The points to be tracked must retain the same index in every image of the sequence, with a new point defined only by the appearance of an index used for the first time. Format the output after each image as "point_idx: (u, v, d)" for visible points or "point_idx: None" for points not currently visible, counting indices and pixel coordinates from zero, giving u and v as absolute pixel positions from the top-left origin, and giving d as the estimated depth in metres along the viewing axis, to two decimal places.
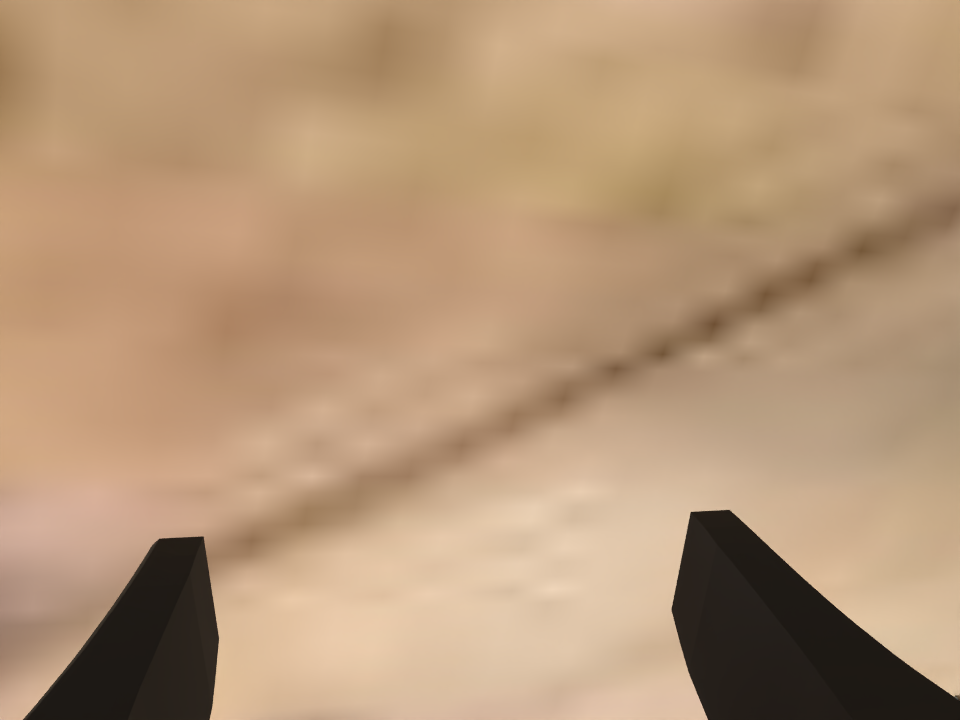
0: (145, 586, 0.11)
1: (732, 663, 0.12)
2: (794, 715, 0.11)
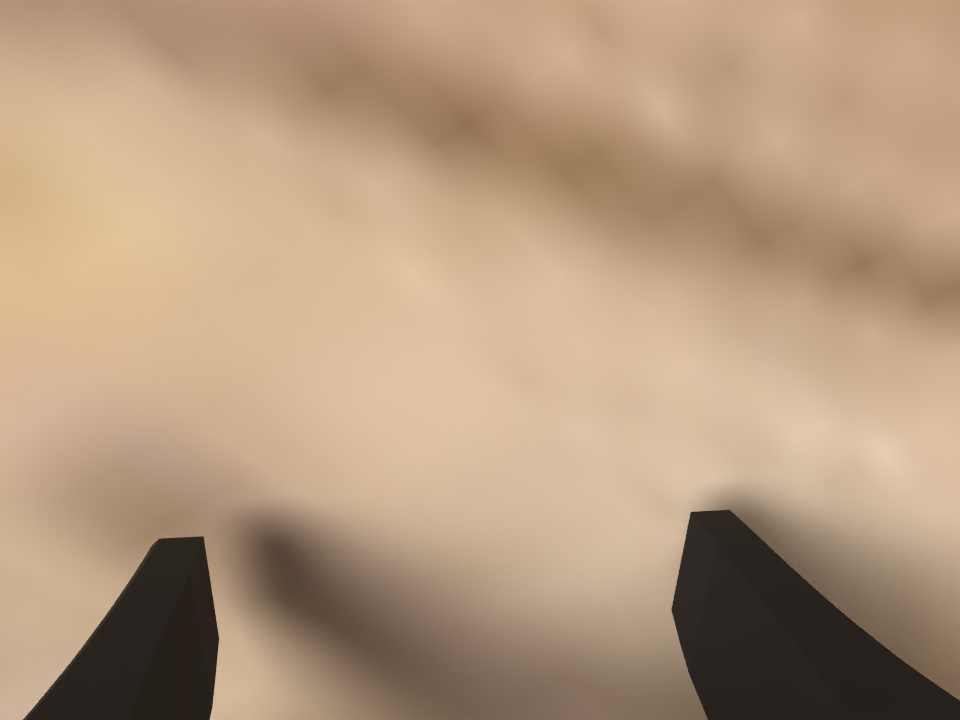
0: (145, 586, 0.11)
1: (732, 663, 0.12)
2: (794, 715, 0.11)
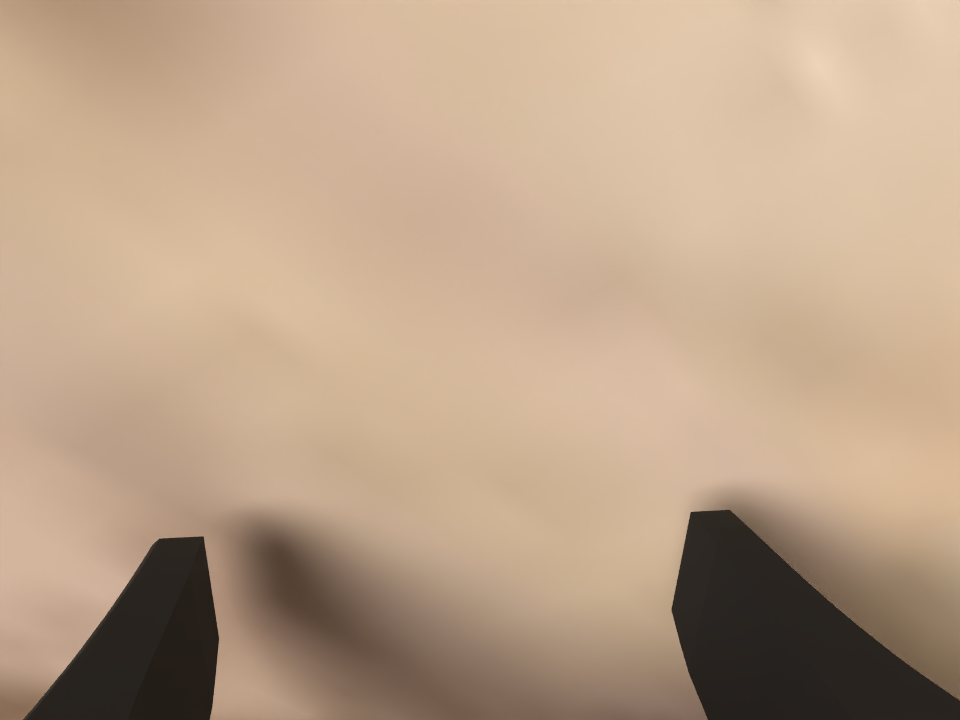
0: (145, 586, 0.11)
1: (732, 664, 0.12)
2: (794, 715, 0.11)
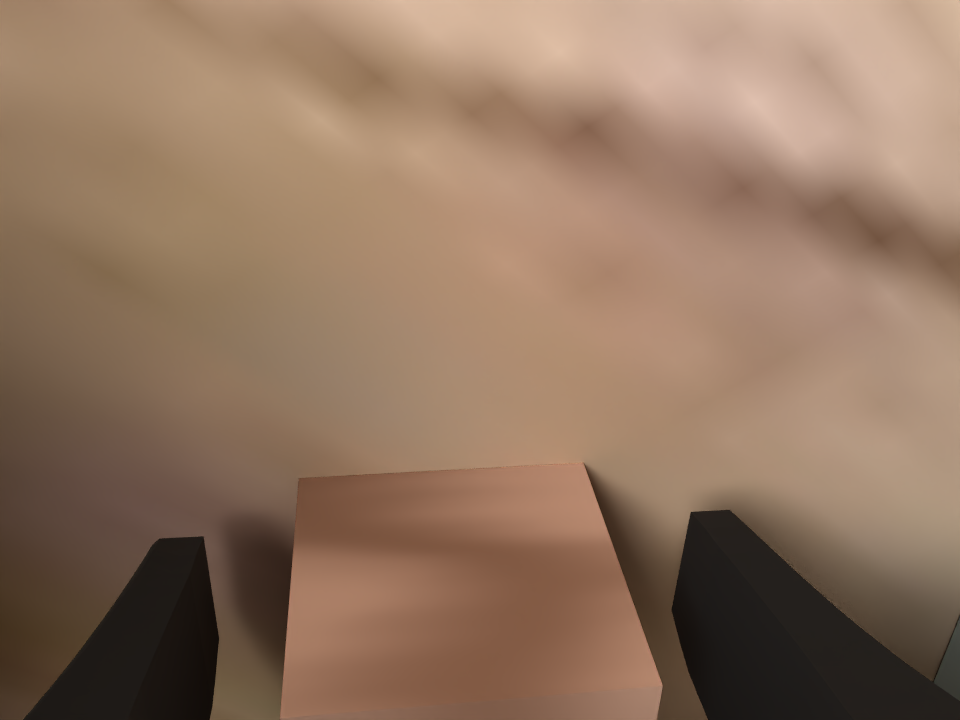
0: (145, 586, 0.11)
1: (732, 663, 0.12)
2: (794, 715, 0.11)
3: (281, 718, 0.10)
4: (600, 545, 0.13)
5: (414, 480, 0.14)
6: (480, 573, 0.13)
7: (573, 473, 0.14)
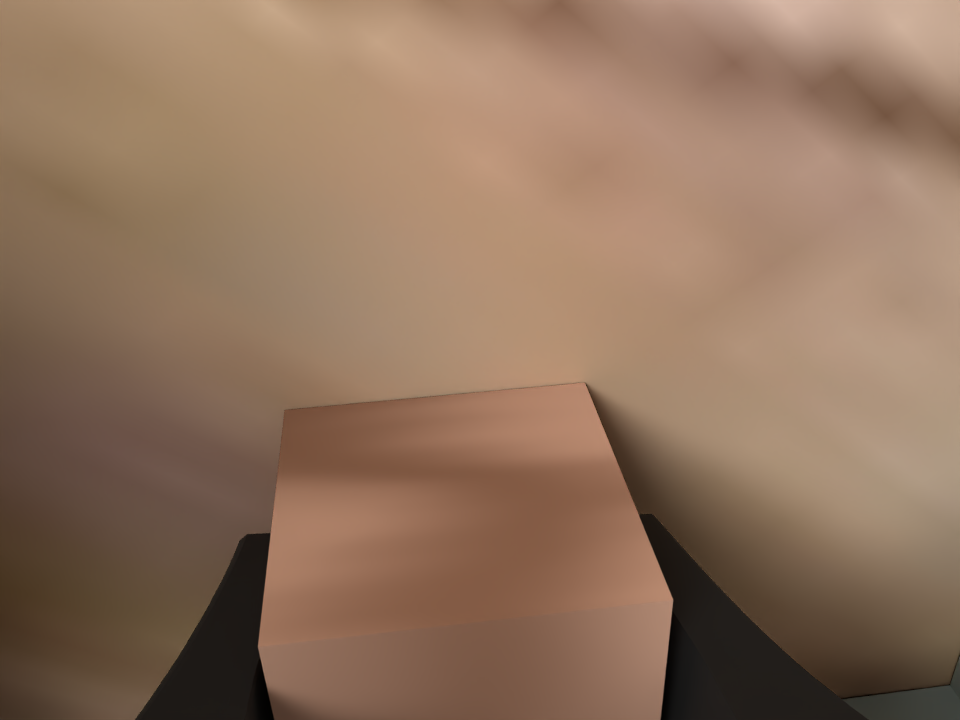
0: (242, 580, 0.12)
1: None
2: None
3: (259, 647, 0.10)
4: (604, 464, 0.12)
5: (406, 410, 0.13)
6: (476, 497, 0.12)
7: (575, 396, 0.14)
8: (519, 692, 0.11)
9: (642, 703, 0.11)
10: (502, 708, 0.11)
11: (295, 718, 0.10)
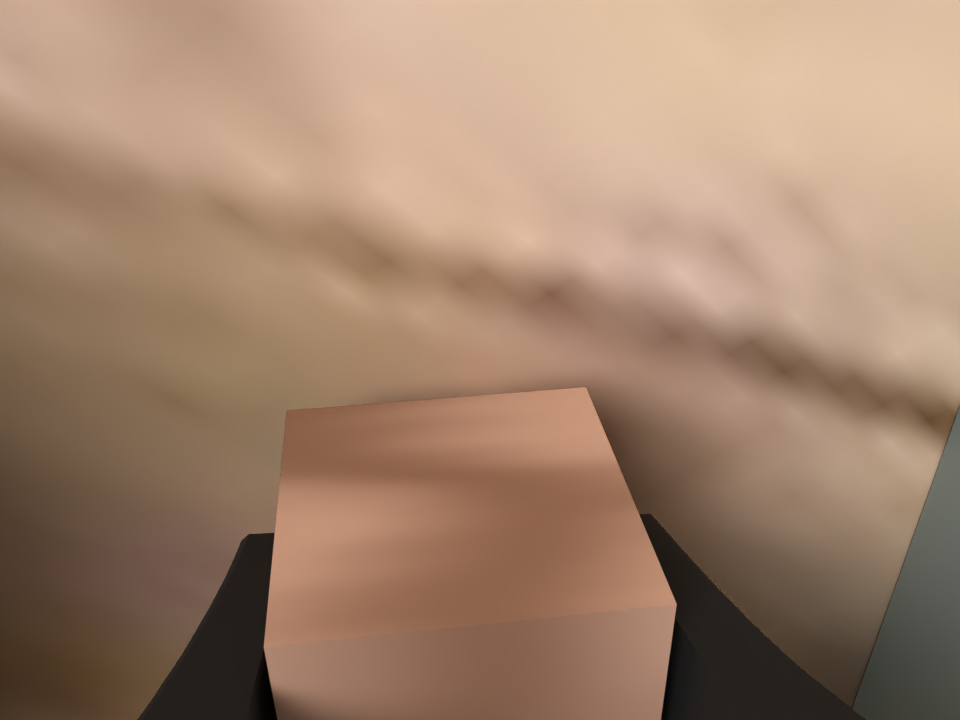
0: (244, 581, 0.12)
1: None
2: None
3: (265, 647, 0.10)
4: (605, 468, 0.12)
5: (408, 412, 0.13)
6: (479, 500, 0.12)
7: (576, 400, 0.14)
8: (521, 694, 0.11)
9: (643, 706, 0.11)
10: (503, 711, 0.11)
11: (298, 719, 0.10)
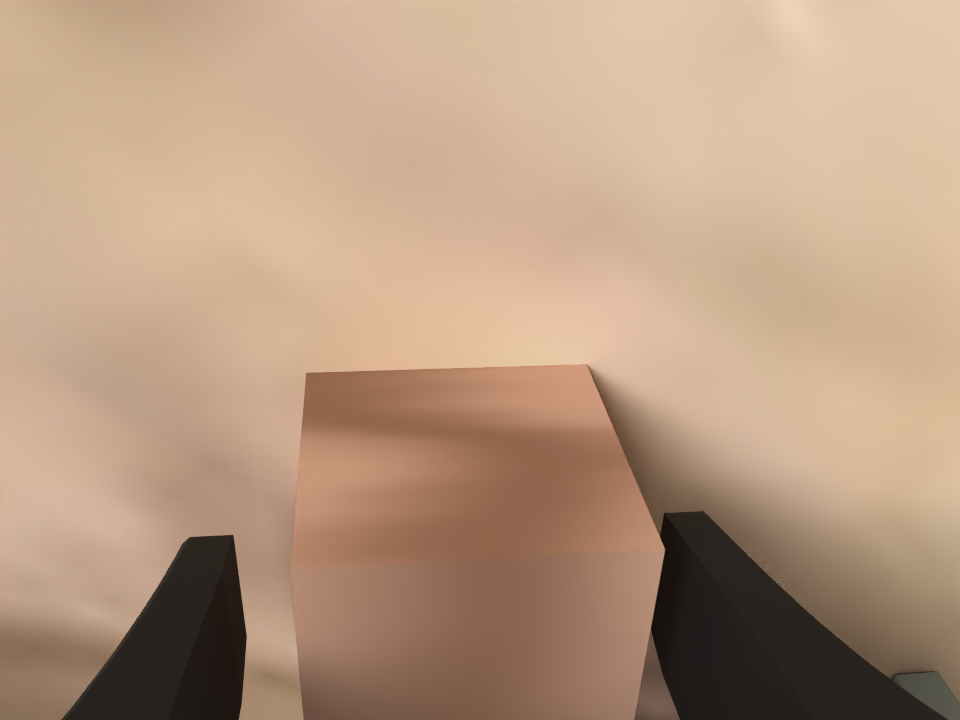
0: (179, 584, 0.11)
1: (703, 666, 0.12)
2: (761, 718, 0.11)
3: (291, 571, 0.11)
4: (602, 432, 0.13)
5: (420, 376, 0.14)
6: (487, 455, 0.13)
7: (576, 373, 0.15)
8: (520, 628, 0.12)
9: (629, 646, 0.12)
10: (503, 644, 0.12)
11: (316, 641, 0.11)
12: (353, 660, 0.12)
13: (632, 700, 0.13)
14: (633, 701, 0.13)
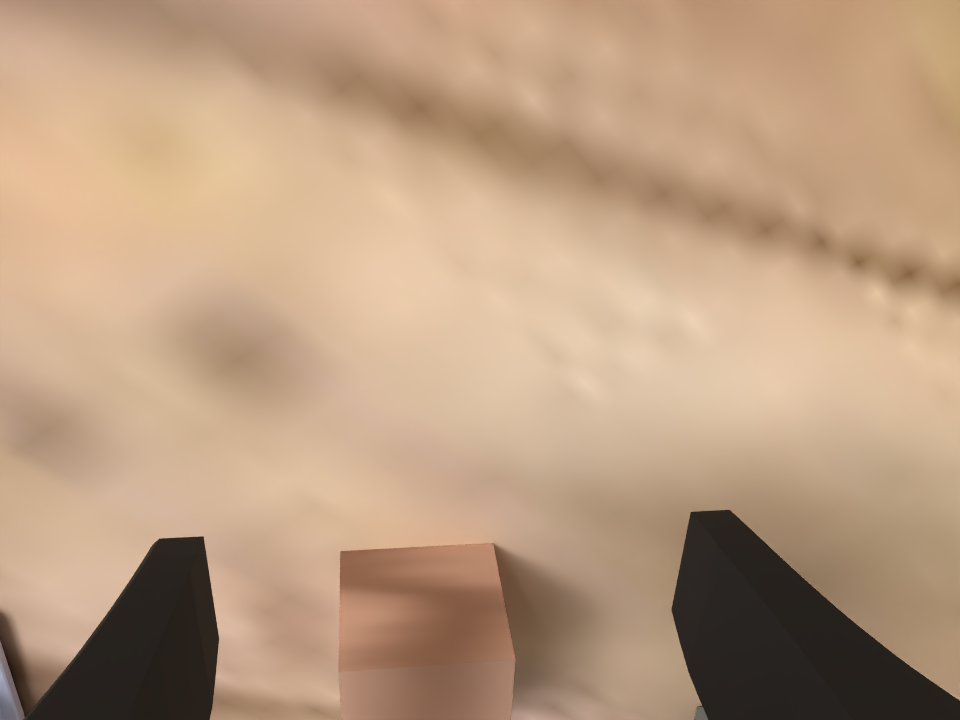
0: (145, 586, 0.11)
1: (731, 663, 0.12)
2: (794, 715, 0.11)
3: (339, 672, 0.23)
4: (495, 590, 0.26)
5: (401, 553, 0.27)
6: (434, 605, 0.25)
7: (487, 549, 0.27)
8: (447, 696, 0.24)
9: (503, 703, 0.24)
10: (440, 703, 0.24)
11: (349, 703, 0.24)
12: (367, 711, 0.24)
13: None
14: None
